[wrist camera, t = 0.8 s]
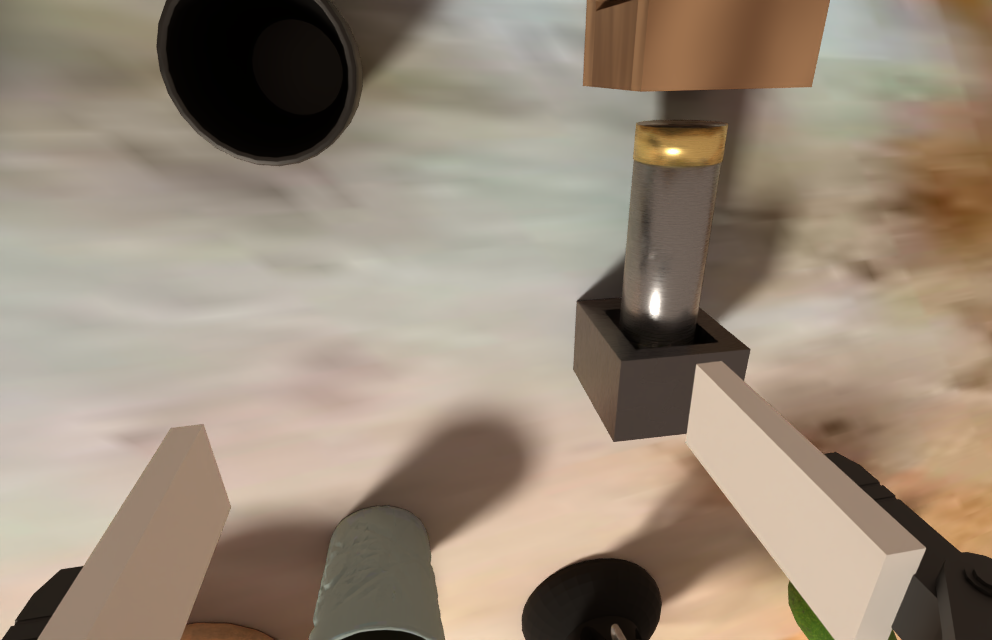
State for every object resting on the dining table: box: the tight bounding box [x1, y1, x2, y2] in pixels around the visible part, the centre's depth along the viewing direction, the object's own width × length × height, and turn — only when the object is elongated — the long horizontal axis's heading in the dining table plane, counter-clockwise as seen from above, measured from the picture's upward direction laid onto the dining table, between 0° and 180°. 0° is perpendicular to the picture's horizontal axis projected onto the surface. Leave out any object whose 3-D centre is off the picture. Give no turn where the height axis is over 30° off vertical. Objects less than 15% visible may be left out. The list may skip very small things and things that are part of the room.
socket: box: [583, 0, 830, 92], centre depth 30 cm, size 9×5×10 cm, turn 91°
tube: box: [619, 120, 728, 350], centre depth 36 cm, size 20×5×5 cm, turn 1°
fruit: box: [788, 580, 897, 640], centre depth 54 cm, size 8×8×12 cm
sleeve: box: [573, 298, 750, 442], centre depth 39 cm, size 8×6×9 cm
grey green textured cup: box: [309, 505, 445, 640], centre depth 43 cm, size 10×10×12 cm
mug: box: [157, 0, 362, 166], centre depth 27 cm, size 8×12×10 cm
